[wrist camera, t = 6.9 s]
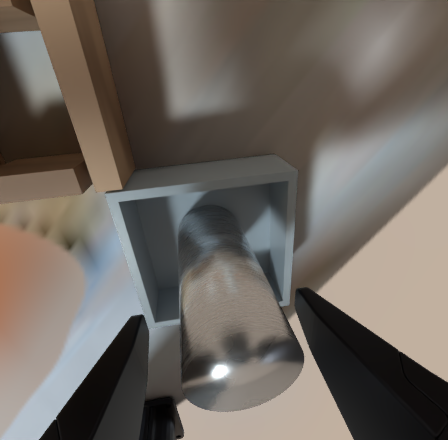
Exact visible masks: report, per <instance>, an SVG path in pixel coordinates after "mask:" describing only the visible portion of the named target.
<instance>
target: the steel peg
mask: <svg viewBox="0 0 448 440" xmlns="http://www.w3.org/2000/svg"><path fill="white" fill-rule="evenodd" d="M178 274H179V314H180V353H181V386H182V391H183V393H184V395H185V397H186V398H187V399H188V400H189V401H190V402H191V403H192V404H194V405H196V406H198V407H200V408H202V409H206V410H210V411H218V412H229V411H238V410H244V409H248V408H252V407H255V406H258V405H260V404H263V403H265V402H267V401H269V400H271V399H273V398H275V397H276V396H278V395H280V394H281V393H282V392H284V391H285V390H286V389H287V388H289V387H290V386H291V384H293V383H294V381H295V380H296V379H297V378H298V376H299V374H300V372H301V370H302V368H303V364H304V353H303V350H302V348H301V346H300V344H299V342H298V340H297V338H296V336H295V334H294V332H293V330H292V328H291V326H290V324H289V322H288V320H287V318H286V316H285V314H284V312H283V310H282V308H281V306H280V304H279V302H278V300H277V298H276V296H275V294H274V292H273V290H272V288H271V286H270V284H269V282H268V280H267V278H266V276H265V274H264V272H263V270H262V268H261V266H260V264H259V262H258V260H257V258H256V256H255V254H254V252H253V250H252V248H251V246H250V244H249V242H248V240H247V238H246V236H245V234H244V232H243V230H242V228H241V226H240V224H239V222H238V220H237V219H236V217H235V216H234V214H233V213H232V212H230V211H229V210H227V209H226V208H223V207H221V206H216V205H205V206H201V207H198V208H196V209H193V210H192V211H190V212H189V213H188V214H187V215H186V216H185V217H184V218H183V219H182V221H181V223H180V225H179V228H178Z"/></svg>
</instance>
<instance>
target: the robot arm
mask: <svg viewBox="0 0 448 440" xmlns="http://www.w3.org/2000/svg"><path fill="white" fill-rule="evenodd" d="M295 310H296V313H297V315H298V318H299V321H300V323H301V326H302V329H303V332H304V335H305V337H306V340H307V342H308V345H309V348H310V350H311V352H312V355H313V357H314V359H315V361H316V363H317V365H318V367H319V369H320V371H321V373H322V375H323V377H324V379H325V381H326V383H327V386H328V388H329V389H330V392H331V394H332V396H333V398H334V400H335V402H336V404H337V406H338V408H339V410H340V412H341V414H342V416H343V418H344V420H345V422H346V425H347V427H348V429H349V431H350V433H351V435H352V437H353V439H354V440H448V382H446V381H444V380H443V379H441V378H440V377H438V376H437V375H435V374H433V373H431V372H430V371H429V370H427V369H426V368H424V367H423V366H421V365H420V364H418V363H417V362H415V361H414V360H412V359H411V358H409V357H408V356H406V355H405V354H403V353H402V352H399V351H398V349H396V348H395V347H393V346H392V345H390V344H389V343H387V342H386V341H385V340H383V339H382V338H380V337H379V336H377V335H376V334H374V333H373V332H372V331H370V330H369V329H367V328H366V327H364V326H363V325H361V324H360V323H358V322H357V321H355V320H354V319H353V318H351V317H350V316H348V315H347V314H345V313H344V312H342V311H341V310H340V309H338V308H337V307H335V306H334V305H332V304H331V303H329V302H328V301H326V300H325V299H324V298H322V297H321V296H319V295H318V294H317V293H315V292H314V291H312V290H311V289H309V288H307V287H303V288H298V289H296V294H295ZM148 353H149V330H148V326H147V323H146V320H145V317H144V315H142V314H141V315H135V316H131V317H130V318H129V320H128V321H127V322H126V324H125V325H124V326H123V328H122V329H121V330H120V332H119V333H118V335H117V336H116V337H115V339H114V340H113V341H112V343H111V344H110V345H109V347H108V348H107V349H106V351H105V352H104V353H103V355H102V356H101V357H100V359H99V360H98V361H97V363H96V364H95V365H94V367H93V368H92V370H91V371H90V372H89V374H88V375H87V376H86V378H85V379H84V380H83V382H82V383H81V384H80V386H79V387H78V388H77V390H76V391H75V392H74V394H73V395H72V396H71V398H70V399H69V400H68V402H67V403H66V405H65V406H64V407H63V409H62V410H61V411H60V413H59V414H58V415H57V417H56V420H54V421H53V422H52V423H51V425H50V426H49V427H48V429H47V430H46V431H45V433H44V434H43V435H42V437H41V438H40V439H39V440H177V439H181V438H183V437H184V430H183V427H182V423H181V420H180V417H179V414H178V411H177V407H176V404H175V401H174V399H173V398H164V399H159V400H154V401H149V402H144V401H145V394H146V387H147V376H148Z"/></svg>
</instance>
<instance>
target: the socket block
mask: <svg viewBox="0 0 448 440" xmlns="http://www.w3.org/2000/svg"><path fill="white" fill-rule="evenodd" d="M38 30H40V31H41V34H42V36H43V39H44V42H45V45H46V48H47V51H48V54H49V57H50V60H51V63H52V66H53V69H54V71H55V74H56V77H57V80H58V83H59V86H60V89H61V92H62V95H63V98H64V101H65V104H66V106H67V109H68V112H69V115H70V118H71V121H72V124H73V127H74V130H75V133H76V136H77V139H78V142H79V144H80V147H81V150H82V152H81V153H72V154H63V155H53V156H44V157H34V158H25V159H16V160H14V161H11V162H9V163H5V161H4V159H3V157H2V155H1V153H0V204H5V203H13V202H21V201H29V200H38V199H46V198H54V197H63V196H71V195H79V194H83V193H84V192H85V191H86V190H87V189H88V188H89V187H90V186H91V185H92V184H93V185H94V188H95V191H96V192H104V191H112V190H121V189H123V188H124V186H125V185H126V183H127V181H128V180H129V178H130V176H131V175H132V173H133V171H134V170H135V164H134V160H133V156H132V151H131V147H130V143H129V139H128V135H127V131H126V127H125V123H124V119H123V115H122V111H121V107H120V103H119V99H118V95H117V91H116V87H115V83H114V79H113V75H112V71H111V67H110V63H109V59H108V55H107V51H106V47H105V43H104V39H103V35H102V31H101V27H100V23H99V19H98V15H97V11H96V7H95V3H94V0H0V33H6V32H22V31H38Z"/></svg>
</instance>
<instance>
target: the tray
mask: <svg viewBox="0 0 448 440" xmlns="http://www.w3.org/2000/svg"><path fill="white" fill-rule="evenodd" d="M297 183H298V170H297V169H296V168H294V167H293V166H291V165H290V164H289V163H287V162H286V161H284V160H283V159H281V158H280V157H279V156H277V155H276V154H270V155H262V156H253V157H244V158H235V159H227V160H218V161H209V162H201V163H192V164H183V165H174V166H166V167H157V168H148V169H139V170H134V171H133V173H132V175H131V176H130V178H129V180H128V181H127V183H126V185H125V186H124V188H123V189H121V190H112V191H107V192H106V193H105V196H106V199H107V202H108V205H109V208H110V211H111V215H112V218H113V221H114V224H115V227H116V230H117V233H118V236H119V239H120V242H121V245H122V248H123V251H124V254H125V258H126V261H127V264H128V267H129V270H130V273H131V276H132V279H133V282H134V285H135V288H136V291H137V294H138V297H139V301H140V304H141V307H142V310H143V313H144V316H145V319H146V322H147V325H148V328H149V329H154V328H160V327H165V326H171V325H177V324H180V314H179V274H178V228H179V225H180V223H181V221H182V219H183V218H184V217H185V216H186V215H187V214H188V213H189V212H190V211H192V210H193V209H196V208H198V207H201V206H205V205H216V206H221V207H223V208H226V209H227V210H229V211H230V212H232V213H233V214H234V216H235V217H236V219H237V220H238V222H239V224H240V226H241V228H242V230H243V232H244V234H245V236H246V238H247V240H248V242H249V244H250V246H251V248H252V250H253V252H254V254H255V256H256V258H257V260H258V262H259V264H260V266H261V268H262V270H263V272H264V274H265V276H266V278H267V280H268V282H269V284H270V286H271V288H272V290H273V292H274V294H275V296H276V298H277V300H278V302H279V304H280V306H281V307H282V306H288V305H290V290H291V275H292V259H293V244H294V229H295V214H296V198H297Z"/></svg>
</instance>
